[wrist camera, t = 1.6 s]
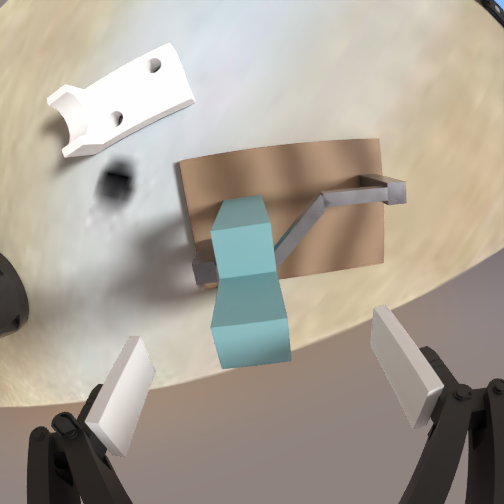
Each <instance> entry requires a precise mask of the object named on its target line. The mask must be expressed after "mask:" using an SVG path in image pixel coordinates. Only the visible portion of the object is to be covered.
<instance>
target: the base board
mask: <svg viewBox="0 0 504 504" xmlns="http://www.w3.org/2000/svg"><path fill="white" fill-rule="evenodd" d="M179 163H180V168H181V174H182V180H183V185H184V191H185V196H186V202H187V207H188V212H189V217H190V222H191V227H192V232H193V237H194V242H195V246H196V251H197V252H198V250H199V248H200V246H201V244H202V241H203V240H207V239H212V237H211V232H210V231H211V229H212V226H213V224H214V222H215V219H216V217H217V215H218V212H219V210H220V208H221V206H222V203H223V201H224V200H229V199H236V198H243V197H250V196H257V195H262V198H263V201H264V204H265V207H266V210H267V213H268V217H269V220H270V223H271V231H272V238H273V246H275V245H276V243H277V242H278V241H279V240H280V238H281V237H282V236H283V235H284V233H285V232H286V231H287V230H288V228H289V227H290V226H291V225H292V224H293V222H294V221H295V220H296V219H297V217H298V216H299V215H300V214H301V212H302V211H303V210H304V209H305V207H306V206H307V205H308V204H309V202H310V201H311V200H312V199H313V197H314V196H315V195H316V194H317V193H319V194H320V191H329V190H339V189H349V188H360V185H359V175H365V174H377V175H382V163H381V151H380V141H379V139H351V140H333V141H318V142H306V143H296V144H286V145H277V146H268V147H260V148H253V149H246V150H239V151H232V152H226V153H220V154H214V155H208V156H203V157H197V158H192V159H187V160H182V161H179ZM380 263H384V203H383V202H370V203H361V204H351V205H342V206H334V207H328V208H327V209H326V211H325V212H324V213H323V214H322V216H321V217H320V218H319V219H318V220H317V222H316V223H315V224H314V225H313V227H312V228H311V229H310V230H309V231H308V233H307V234H306V235H305V236H304V238H303V239H302V240H301V241H300V242H299V244H298V245H297V246H296V247H295V248H294V250H293V251H292V252H291V253H290V255H289V256H288V257H287V258H286V259H285V261H284V262H283V263H282V264H281V265H280V266H279V268H278V269H276V271H277V275H278V280H279V279H286V278H292V277H299V276H306V275H313V274H319V273H325V272H332V271H338V270H344V269H350V268H357V267H363V266H368V265H374V264H380ZM219 280H220V278H219ZM218 285H219V282H215V283H207V284H204V287H205V289H211V288H218Z"/></svg>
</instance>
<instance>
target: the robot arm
mask: <svg viewBox="0 0 504 504" xmlns="http://www.w3.org/2000/svg"><path fill="white" fill-rule="evenodd" d="M28 315H29V306H28V300H27V296H26V292H25V289H24V287H23V284H22V282H21V280H20V278H19V276H18V274H17V272H16V271H15V269H14V268H13V266H12V265H11V263H10V262H9V261H8V260H7V259H6V258H5V257H4V256H3V255H2V254H1V253H0V338H2V337H5V336H8V335H10V334H13V333H15V332H17V331H18V330H19V329H20V328H21V327H22V326H23V325H24V324H25V323H26V322H27V319H28ZM370 347H371V349H372V350H373V352H374V354H375V356H376V358H377V359H378V362H379V363H380V365H381V367H382V369H383V371H384V373H385V375H386V377H387V379H388V381H389V383H390V385H391V387H392V389H393V391H394V393H395V395H396V397H397V399H398V401H399V403H400V404H401V407H402V409H403V411H404V413H405V415H406V417H407V419H408V421H409V423H410V425H411V428H412V430H414V429H417V428H420V427H422V426H425V425H427V423H428V421H429V419H430V417H431V419H432V421H433V425H432V427H431V429H430V431H429V433H428V439H427V442H426V444H425V447H424V449H423V452H422V454H421V457H420V459H419V462H418V464H417V466H416V469H415V471H414V473H413V475H412V478H411V480H410V482H409V484H408V486H407V488H406V490H405V492H404V494H403V496H402V498H401V500H400V502H399V503H398V504H444V503H445V500H446V498H447V495H448V493H449V490H450V487H451V484H452V482H453V479H454V476H455V473H456V470H457V467H458V464H459V461H460V457H461V454H462V450H463V447H464V443H465V438H466V434H467V431H468V438H469V454H468V456H469V457H468V458H469V459H468V478H467V491H466V500H465V504H504V380H503V379H498V378H497V379H493V380H492V381H490V383H489V385H488V386H487V388H481V389H471V388H470V387H469V386H468V385H465V384H459V383H458V382H457V380H456V379H455V378H454V376H453V375H452V373H451V372H450V371H449V369H448V368H447V367H446V365H444V363H443V361H442V360H441V359H440V357H439V356H438V355H437V353H436V352H435V351H434V350H432V349H431V348H429V347H428V346H426V347H423V348H420V349H419V348H418V347H417V346H416V344H415V343H414V342H413V340H412V339H411V338H410V336H409V335H408V334H407V332H406V331H405V330H404V328H403V327H402V326H401V324H400V323H399V322H398V320H397V319H396V317H395V316H394V315H393V314H392V312H391V311H390V310H389V308H388V307H387V306H386V305H383V306H379V307H374V310H373V324H372V333H371V343H370ZM154 374H155V369H154V366H153V364H152V362H151V359H150V357H149V355H148V352H147V350H146V348H145V345H144V343H143V340H142V338H141V336H131V337H129V338H128V340H127V342H126V344H125V345H124V347H123V349H122V351H121V353H120V354H119V356H118V358H117V360H116V362H115V364H114V365H113V367H112V369H111V371H110V373H109V375H108V377H107V379H106V380H105V382H104V384H98V385H97V386H96V387H95V388H94V389H93V390H92V391H91V393H90V395H89V398H88V399H87V401H86V404H85V405H84V406H83V408H82V410H81V412H80V414H79V416H78V418H77V420H76V419H75V418H74V417H73V415H72V414H70V413H69V412H62V413H59V414H58V415H56V416H55V417H54V418H53V420H52V424H51V426H52V428H53V429H54V430H55V431H56V432H55V433H50V432H49V430H47V428H45V427H41V426H40V427H37V428H36V429H34V430H33V431H32V432H31V434H30V438H29V449H28V464H27V504H81V501H80V496H81V499H82V501H83V503H84V504H133V503H132V501H131V500H130V498H129V496H128V495H127V493H126V491H125V490H124V488H123V486H122V484H121V482H120V481H119V479H118V477H117V475H116V473H115V471H114V469H113V467H112V465H111V463H110V461H109V459H108V457H107V456H106V455H105V453H106V451H107V449H108V450H109V452H110V453H111V454H112V455H115V456H120V457H126V455H127V452H128V449H129V446H130V443H131V440H132V437H133V434H134V430H135V428H136V425H137V422H138V419H139V416H140V413H141V410H142V407H143V404H144V402H145V399H146V396H147V393H148V391H149V388H150V385H151V382H152V380H153V377H154Z"/></svg>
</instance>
